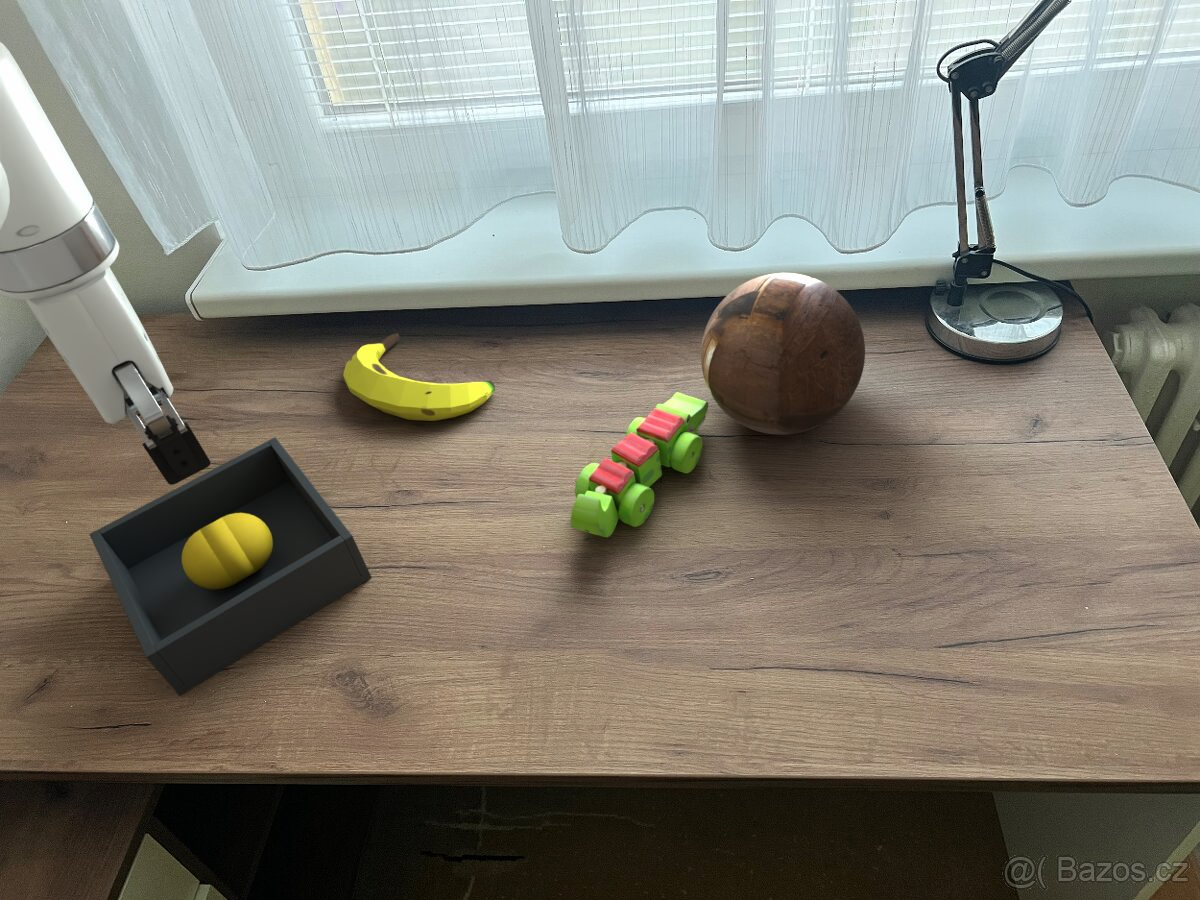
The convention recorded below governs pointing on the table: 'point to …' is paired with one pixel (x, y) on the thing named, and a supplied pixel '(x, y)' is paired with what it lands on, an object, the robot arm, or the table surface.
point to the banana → (409, 388)
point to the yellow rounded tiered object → (227, 551)
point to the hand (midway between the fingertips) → (169, 439)
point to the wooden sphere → (782, 353)
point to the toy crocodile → (638, 466)
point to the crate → (251, 606)
